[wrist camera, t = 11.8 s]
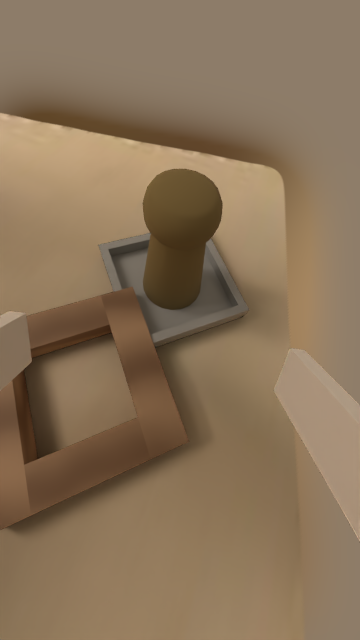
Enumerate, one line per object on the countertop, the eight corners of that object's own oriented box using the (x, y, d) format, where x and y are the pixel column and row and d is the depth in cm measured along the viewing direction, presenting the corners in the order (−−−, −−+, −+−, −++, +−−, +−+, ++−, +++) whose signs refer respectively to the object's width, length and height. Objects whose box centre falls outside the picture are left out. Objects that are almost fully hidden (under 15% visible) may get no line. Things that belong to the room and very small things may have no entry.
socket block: (-20, 341, 20) (-38, 333, 18) (134, 296, 23) (132, 286, 21) (-2, 525, 16) (-23, 540, 14) (185, 438, 19) (189, 441, 17)
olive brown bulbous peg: (166, 250, 25) (175, 140, 15) (211, 280, 24) (253, 185, 14) (130, 286, 23) (111, 186, 13) (178, 321, 22) (199, 243, 12)
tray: (102, 256, 25) (98, 244, 23) (198, 232, 27) (201, 221, 26) (134, 354, 21) (132, 349, 19) (242, 316, 24) (249, 309, 22)
